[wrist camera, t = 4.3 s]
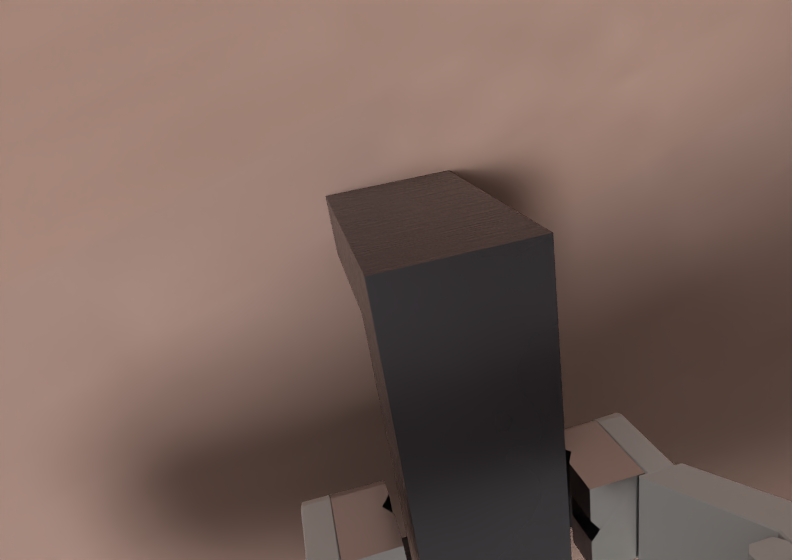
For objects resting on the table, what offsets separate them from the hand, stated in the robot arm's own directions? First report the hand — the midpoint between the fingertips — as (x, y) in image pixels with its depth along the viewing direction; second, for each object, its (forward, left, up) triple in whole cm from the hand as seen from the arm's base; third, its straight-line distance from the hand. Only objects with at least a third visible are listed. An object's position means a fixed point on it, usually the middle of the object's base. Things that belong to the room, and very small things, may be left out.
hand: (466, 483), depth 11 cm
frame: (0, 0, -3) cm, 3 cm away
